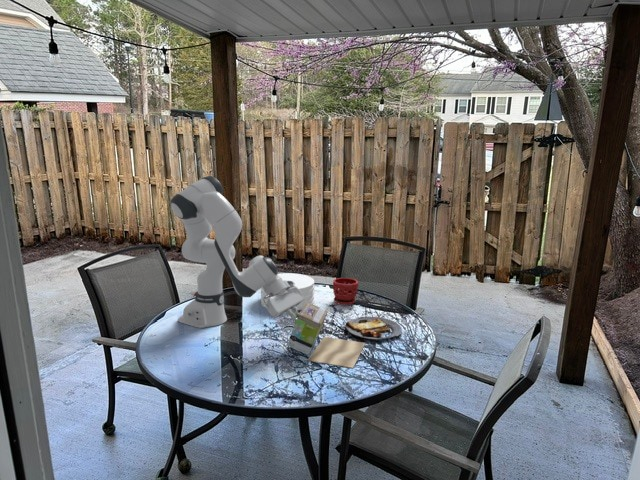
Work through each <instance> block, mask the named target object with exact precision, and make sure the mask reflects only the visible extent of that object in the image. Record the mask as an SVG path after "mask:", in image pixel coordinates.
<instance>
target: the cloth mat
mask: <svg viewBox="0 0 640 480" xmlns="http://www.w3.org/2000/svg"><path fill="white" fill-rule="evenodd" d="M365 346H366V342H361V341H355V340H350V339H349V340H348V339H341V338H335V337H334V338H333V337H328V336H324V337H323V338H322V339H321V341H319V344H317V346H316V347H315V349H314V351H313V352H312V353H311V355H310V356H309V357H308V359H307V361H308V362H314V363H319V364H325V365H330V366H338V367H342V368H348V369H349V368H350V369H354V367H355V365H356V363H357V361H358V359H359V357H360V355H361V353H362V351H363V349H364V347H365Z"/></svg>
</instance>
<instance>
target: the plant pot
mask: <svg viewBox="0 0 640 480" xmlns="http://www.w3.org/2000/svg"><path fill="white" fill-rule="evenodd" d="M332 286H333V287H332V291H333V295H334V298H333V301H334V303H336V304H338V305H341V306H351V305H354V303H356V301H357V299H356V297H357V294H358V290H359V281H358V280H357V279H355V278H351V277H350V278H349V277H338V278H335V279H333V281H332Z"/></svg>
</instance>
